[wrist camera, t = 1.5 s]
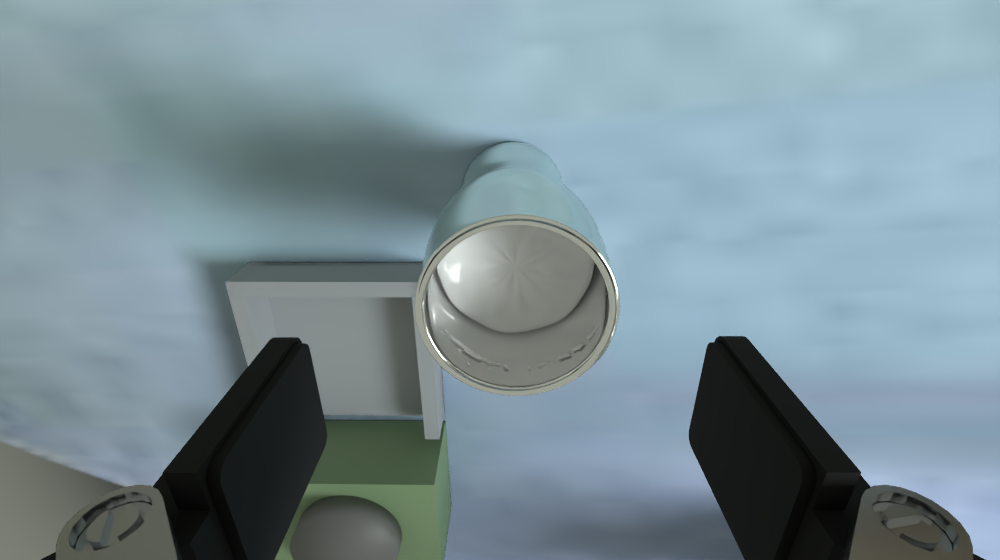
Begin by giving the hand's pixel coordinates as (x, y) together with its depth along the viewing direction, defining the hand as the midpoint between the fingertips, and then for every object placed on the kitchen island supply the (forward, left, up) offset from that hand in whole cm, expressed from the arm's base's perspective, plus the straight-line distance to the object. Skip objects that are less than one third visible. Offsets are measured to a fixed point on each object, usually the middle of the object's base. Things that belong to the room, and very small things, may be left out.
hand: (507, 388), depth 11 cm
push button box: (+11, +16, -19) cm, 27 cm away
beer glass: (0, 0, -19) cm, 19 cm away
